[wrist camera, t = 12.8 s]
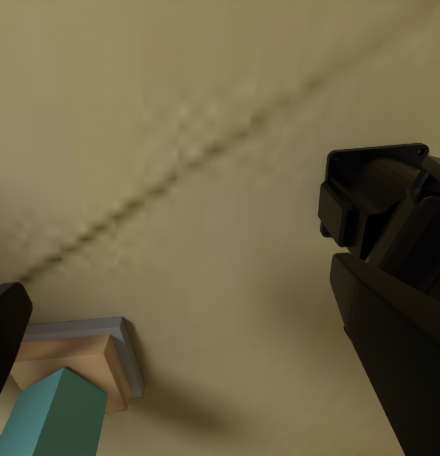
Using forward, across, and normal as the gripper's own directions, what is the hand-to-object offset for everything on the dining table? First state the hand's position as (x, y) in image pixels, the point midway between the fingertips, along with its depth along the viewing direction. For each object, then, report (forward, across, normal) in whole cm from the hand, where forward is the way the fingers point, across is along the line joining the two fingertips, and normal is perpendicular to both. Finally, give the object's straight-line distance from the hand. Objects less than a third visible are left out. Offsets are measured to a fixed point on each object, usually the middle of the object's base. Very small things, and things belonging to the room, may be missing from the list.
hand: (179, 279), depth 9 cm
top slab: (+12, +13, +19) cm, 26 cm away
